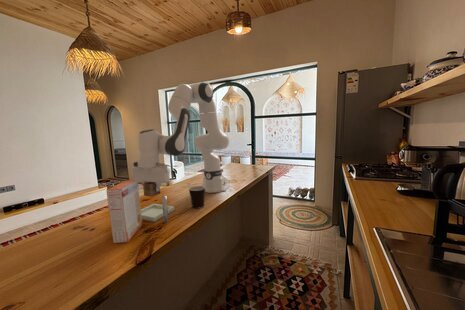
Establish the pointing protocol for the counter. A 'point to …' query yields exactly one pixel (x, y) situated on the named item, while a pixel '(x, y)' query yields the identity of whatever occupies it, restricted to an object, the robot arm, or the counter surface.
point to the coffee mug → (197, 196)
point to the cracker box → (124, 210)
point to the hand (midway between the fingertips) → (152, 190)
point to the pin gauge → (165, 209)
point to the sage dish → (154, 212)
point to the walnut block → (150, 189)
